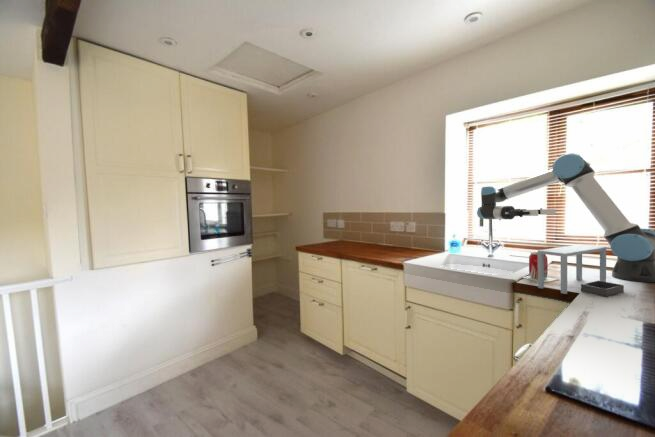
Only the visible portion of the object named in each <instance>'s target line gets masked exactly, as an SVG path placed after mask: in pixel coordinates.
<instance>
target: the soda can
mask: <svg viewBox="0 0 655 437" xmlns="http://www.w3.org/2000/svg"><path fill="white" fill-rule="evenodd" d="M548 263H549V262H548V257H547V254H544V279H545V278H547V277H548V274H549V273H548V272H549V271H548V270H549V269H548V267H549V266H548ZM528 272H529V275H528V276H530V277H532V278H534V279H538V251H537V252H536V251H535V252H530V255H529V256H528Z"/></svg>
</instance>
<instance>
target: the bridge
mask: <svg viewBox="0 0 655 437" xmlns="http://www.w3.org/2000/svg"><path fill="white" fill-rule="evenodd" d="M537 252H538V281H537V289H545V283H544V254H546V255H550V256H557V257H558V256H559V257H560V294H564V295H567V294H568V257H570V256H571V257H573V256H575V259H576V260H575V261H576V263H575V266H576V268H575V269H576V270H575V271H576V272H575V275H576V280H578V281H581V280H583V255H585V254H590V253H591V254H592V253H598V252H599V281H604V282H607V246H596V245H586V244H575V245H568V246H567V245H565V246H560V247H553V248H545V249H538V250H537Z"/></svg>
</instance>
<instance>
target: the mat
mask: <svg viewBox="0 0 655 437" xmlns="http://www.w3.org/2000/svg"><path fill="white" fill-rule="evenodd" d="M521 278H522V279H526V280H530V281H534V282H538V279H534V278H532V277H530V275H527V276H522V277H521ZM556 281H559V279H558V278H553V277H548V276H547V278H545V279H544V284H545V283H550V282H556Z"/></svg>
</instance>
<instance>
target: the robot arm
mask: <svg viewBox="0 0 655 437" xmlns="http://www.w3.org/2000/svg"><path fill="white" fill-rule="evenodd" d="M551 168H552V169H549V170H546V171H544V172H541V173H538V174H536V175H532V176H531V177H528V178H525V179H522V180H520V181H517V182H514V183H512V184H510V185H507V186H504V187H501V188H499V189H496V186H491V185H490V186H482V188H481V190H480V191H481V193H480V194H481V195H480V197H481V198H480V199H481V200H480V201H481V206H480V207H478V208H477V211H476V214H477V217H478V218H479V219H481V220H499V221H501V220H512V219H513V220H514V218H515V217H520V218H523V217H528V216H529V217H530V216H531V217H532V216H533V217H537V216H539V215H543V216H544V215H545V216H546V215H548V216H549V215H552V216H553V215H556V209H555V208H551V209H550V208H546V209H545V208H544V209H543V208H542V207H541V208H539V209H526V208H525V209H524V208H523V209H522V208H515V207H514V206H513V205H497V203H502V202H504V201H507V200H509V199H511V198H514V197H518V196H520V195H524V194H527V193H529V192H532V191H535V190H539V189H542V188H544V187H548V186H550V185H553V184H556V183H561V184H564V185H565V187H569V188H572V190H573V191H574V192H575V193H576V195H577V196H578V197H579V199H580V200H581V201H582V203H583V204H584V206H585V207H586V208H587V210H588V211H589V212H590V213H591V215H592V216H593V217H594V218H595V220H596V222H597V223H598V224H599V225H600V226H601V229H603V231H604V234H603V238H604V239H605V240H606V242H607V243H608V244H609V247H610V250H611V252H612V254H614V256H616V258H617V260H616V262H615V263H614V266H613V269H612V271H611V276H612V277H613V278H617V279H621V280H626V281H634V282H640V283H641V282H643V283H655V230H654V229H652V228H641V227H640V226H639V225H638V224H637V223H633V222H630V221H629V219H627V217H626V216H625V215H624V214H623V212H622V210H620V209H619V207H618V206H617V204H616V203H615V202H614V201H613V200H612V198H611V197H610V195H608V193H607V192H606V191H605V189H604V188H603V187H602V185H601V184H600V183H599V182H598V181H597V180H596V178H595V174H596V171H595V170H594V169H593V168H592V167H591V162H590V161H589V159H587V158H586V157H585V156H583V155H580V154H579V153H573V152H572V153H565V154H562V155H560V156H558V157H557V158H556V159H555V160H554V162H553V163H552V166H551Z"/></svg>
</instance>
